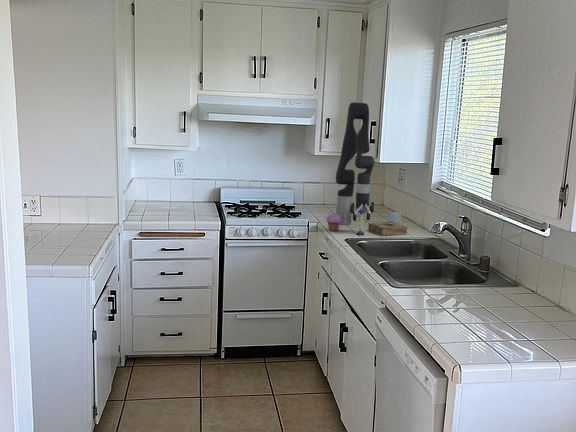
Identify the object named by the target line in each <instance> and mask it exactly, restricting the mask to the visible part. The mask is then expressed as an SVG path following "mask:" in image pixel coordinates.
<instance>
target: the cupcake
mask: <svg viewBox="0 0 576 432" xmlns="http://www.w3.org/2000/svg"><path fill="white" fill-rule="evenodd" d="M325 221H326V222H327V224H328V230H329V231H331V232H337V231H338V230H339V227H340V225H341V224H340V223H341V221H342V218H341V216H340V215H339V214H336V212H335V213H329V214H328V215H327V216H326V220H325Z"/></svg>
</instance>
